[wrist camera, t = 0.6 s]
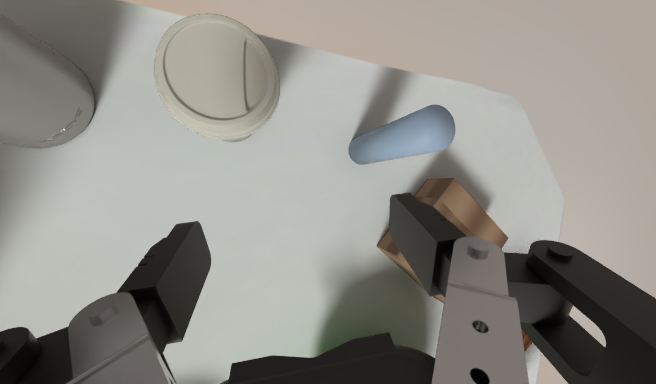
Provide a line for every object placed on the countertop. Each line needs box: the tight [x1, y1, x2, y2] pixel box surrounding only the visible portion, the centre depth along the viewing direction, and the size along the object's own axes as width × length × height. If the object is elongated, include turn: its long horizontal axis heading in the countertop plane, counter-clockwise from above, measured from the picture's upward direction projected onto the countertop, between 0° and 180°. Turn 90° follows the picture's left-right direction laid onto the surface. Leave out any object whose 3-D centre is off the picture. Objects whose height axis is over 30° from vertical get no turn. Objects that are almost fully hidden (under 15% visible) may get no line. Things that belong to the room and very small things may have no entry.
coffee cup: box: [154, 14, 280, 142], centre depth 23 cm, size 9×9×12 cm
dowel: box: [349, 105, 455, 164], centre depth 27 cm, size 4×4×14 cm
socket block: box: [377, 178, 508, 303], centre depth 34 cm, size 12×12×5 cm
